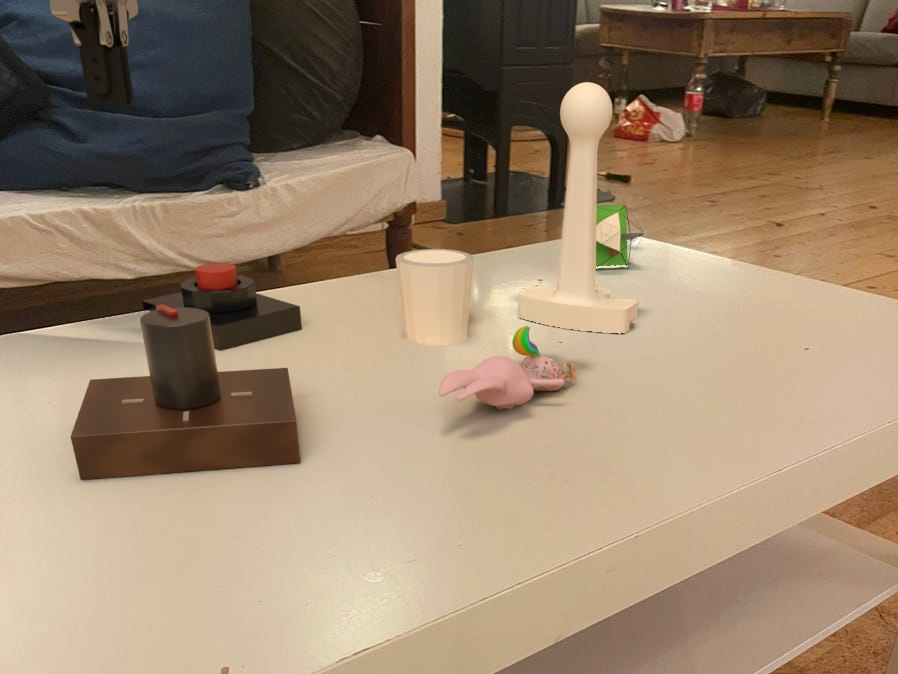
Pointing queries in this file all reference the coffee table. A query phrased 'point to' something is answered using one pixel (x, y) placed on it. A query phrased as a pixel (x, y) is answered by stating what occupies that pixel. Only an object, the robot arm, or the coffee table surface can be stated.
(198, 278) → the button
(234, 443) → the panel
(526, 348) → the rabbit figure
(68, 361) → the coffee table surface
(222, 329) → the button box
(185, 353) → the dial
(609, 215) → the geometric puzzle
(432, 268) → the shot glass
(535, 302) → the joystick
